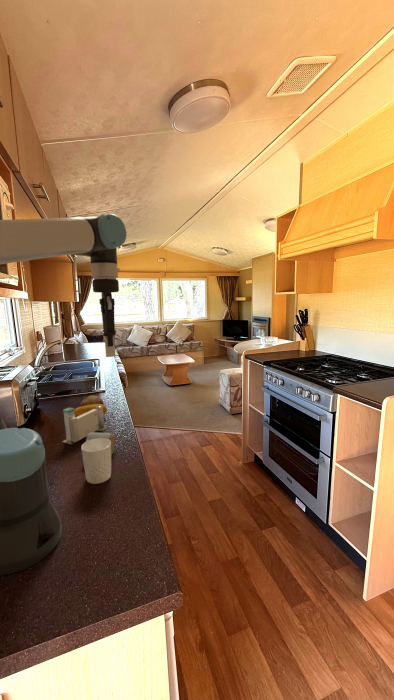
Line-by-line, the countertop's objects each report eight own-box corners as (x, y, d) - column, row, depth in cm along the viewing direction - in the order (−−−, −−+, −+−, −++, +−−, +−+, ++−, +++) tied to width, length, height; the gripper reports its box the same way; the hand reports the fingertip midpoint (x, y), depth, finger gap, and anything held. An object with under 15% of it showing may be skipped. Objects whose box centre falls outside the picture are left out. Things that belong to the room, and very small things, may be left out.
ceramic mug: (111, 460, 94) (110, 437, 93) (85, 461, 94) (83, 438, 92) (118, 444, 105) (116, 423, 103) (94, 446, 104) (92, 425, 103)
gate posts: (69, 445, 104) (66, 412, 102) (61, 441, 107) (57, 409, 105) (110, 427, 118) (108, 398, 116) (102, 424, 121) (99, 396, 119)
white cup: (111, 467, 90) (109, 436, 89) (114, 481, 83) (112, 448, 81) (84, 472, 88) (81, 441, 86) (84, 488, 80) (81, 453, 79)
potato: (107, 421, 125) (106, 405, 124) (72, 425, 121) (70, 409, 120) (107, 414, 132) (106, 399, 131) (73, 418, 128) (72, 403, 127)
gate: (95, 428, 116) (93, 407, 115) (98, 429, 115) (97, 408, 114) (71, 441, 106) (69, 418, 104) (75, 442, 105) (73, 419, 104)
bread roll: (88, 420, 135) (92, 406, 132) (74, 407, 139) (77, 394, 136) (105, 413, 143) (109, 400, 140) (91, 401, 147) (95, 388, 144)
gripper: (121, 277, 85) (126, 358, 89) (114, 280, 97) (119, 352, 101) (94, 277, 82) (100, 361, 86) (90, 280, 94) (96, 354, 98)
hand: (110, 356), depth 93 cm, fingers closed
